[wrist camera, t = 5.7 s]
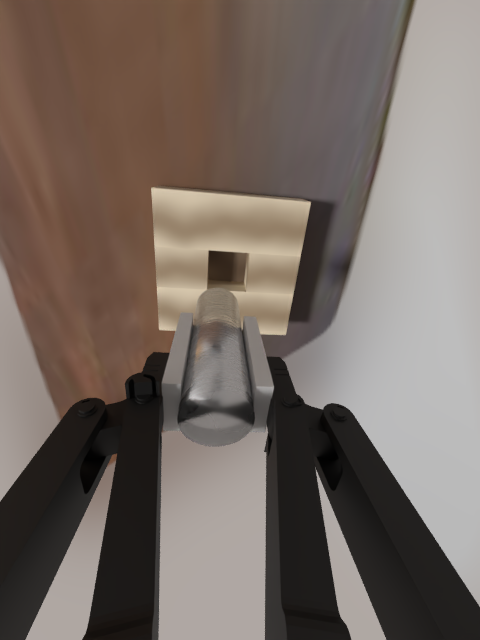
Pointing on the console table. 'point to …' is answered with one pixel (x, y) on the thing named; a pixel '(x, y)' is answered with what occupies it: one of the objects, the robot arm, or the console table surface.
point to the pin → (216, 374)
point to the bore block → (227, 252)
